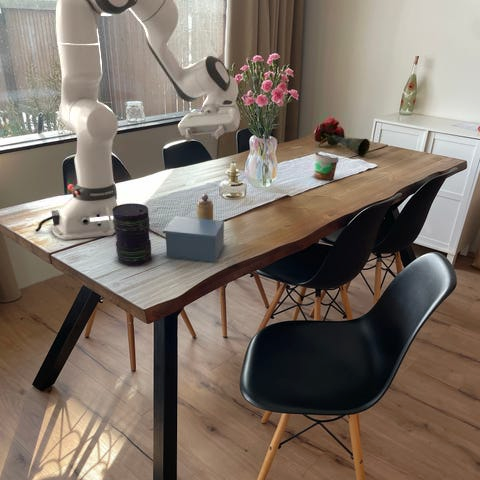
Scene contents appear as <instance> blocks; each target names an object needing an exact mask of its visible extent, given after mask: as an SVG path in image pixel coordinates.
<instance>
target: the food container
mask: <svg viewBox="0 0 480 480" xmlns="http://www.w3.org/2000/svg"><path fill="white" fill-rule="evenodd" d="M313 160H314V178H315V179H317V180H319V181H333V180H334V178H335V173H336V170H337V165H338V163H339V157H338V156H337V157H332V156H330V155H326V154H325V155H323V154H319V151H316V152H315V153H314V154H313Z"/></svg>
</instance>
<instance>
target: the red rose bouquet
mask: <svg viewBox="0 0 480 480" xmlns="http://www.w3.org/2000/svg"><path fill="white" fill-rule="evenodd" d="M313 134H314V135H313V139H314V141H315V142H317V143H318V145H317V147H319V146H320V145H322V144H325V143H327V144H328V145H329V146H337V145H338V144H340V145H343V146H344V147H346V148H347V149H349V150H350V151H351V152H353V153H354V154H355V155H357V156H358V157H360V158H364V157H365V156H366V155H367V154H368V152H369V151H370V146H371V142H370V140H369V139H367V138H349V137H346V135H345V130H344V128H343V127H342V126H341V125H340V122H339V120H337V119H335V117H329V118H328V119H326V121H324V122H322V123H320V124H319V125H317V126H316V128H315V129H314V133H313Z"/></svg>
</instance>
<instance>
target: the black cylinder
mask: <svg viewBox="0 0 480 480" xmlns="http://www.w3.org/2000/svg"><path fill="white" fill-rule="evenodd" d="M112 211H113V223H114V230H115V239H116V241H115V246H116V247H115V249H116V251H115V252H116V255H117V262H118V263H119V264H121V265H122V266H126V267H139V266H144V265H147V264H149V263H150V262H151V261H152V259H153V257H152V241H151V239H150V225H151V224H150V216H149V215H150V214H149V208H148V206H147V205H144V204H141V203H133V202H132V203H131V202H130V203H122V204H117V206H116V207H114V208H113V209H112Z"/></svg>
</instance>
